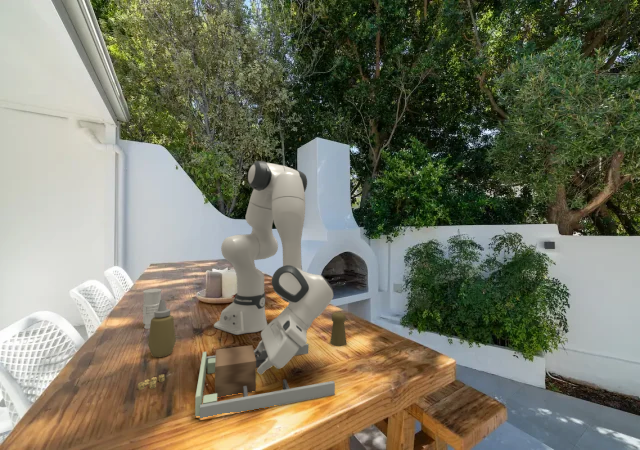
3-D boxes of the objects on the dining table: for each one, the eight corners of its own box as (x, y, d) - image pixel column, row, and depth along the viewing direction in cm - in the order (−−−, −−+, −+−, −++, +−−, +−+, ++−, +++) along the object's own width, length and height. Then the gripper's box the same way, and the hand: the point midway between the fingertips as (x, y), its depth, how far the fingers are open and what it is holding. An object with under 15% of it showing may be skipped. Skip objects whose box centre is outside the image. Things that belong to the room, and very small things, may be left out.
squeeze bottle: (181, 350, 97) (181, 297, 97) (160, 361, 89) (161, 304, 89) (163, 346, 99) (163, 295, 99) (141, 357, 92) (142, 301, 92)
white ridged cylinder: (138, 327, 117) (138, 291, 117) (153, 322, 123) (154, 288, 123) (150, 330, 114) (150, 293, 114) (165, 324, 121) (165, 289, 121)
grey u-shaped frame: (307, 352, 96) (307, 343, 96) (334, 394, 73) (334, 382, 73) (206, 366, 86) (206, 356, 86) (199, 421, 62) (199, 407, 62)
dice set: (165, 381, 79) (165, 374, 79) (156, 392, 74) (156, 384, 74) (146, 381, 79) (147, 374, 79) (136, 392, 74) (136, 385, 74)
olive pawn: (345, 347, 101) (346, 316, 101) (328, 345, 102) (329, 314, 102) (347, 340, 107) (347, 311, 107) (331, 338, 108) (331, 309, 108)
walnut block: (252, 372, 83) (252, 345, 83) (255, 391, 74) (256, 360, 74) (215, 377, 80) (216, 349, 80) (214, 398, 70) (215, 366, 70)
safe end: (218, 366, 86) (218, 350, 86) (216, 415, 64) (217, 393, 64) (202, 368, 85) (202, 352, 85) (195, 419, 63) (195, 396, 63)
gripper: (277, 307, 91) (245, 341, 88) (291, 330, 71) (251, 375, 68) (290, 319, 92) (259, 353, 89) (308, 345, 73) (270, 390, 70)
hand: (256, 363), depth 79 cm, fingers open, 8 cm apart
